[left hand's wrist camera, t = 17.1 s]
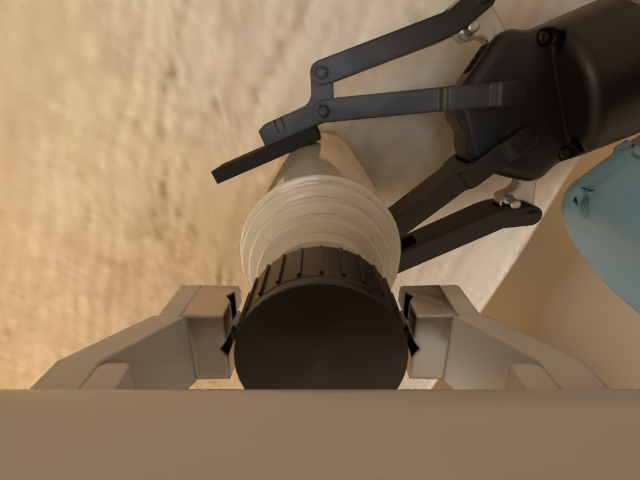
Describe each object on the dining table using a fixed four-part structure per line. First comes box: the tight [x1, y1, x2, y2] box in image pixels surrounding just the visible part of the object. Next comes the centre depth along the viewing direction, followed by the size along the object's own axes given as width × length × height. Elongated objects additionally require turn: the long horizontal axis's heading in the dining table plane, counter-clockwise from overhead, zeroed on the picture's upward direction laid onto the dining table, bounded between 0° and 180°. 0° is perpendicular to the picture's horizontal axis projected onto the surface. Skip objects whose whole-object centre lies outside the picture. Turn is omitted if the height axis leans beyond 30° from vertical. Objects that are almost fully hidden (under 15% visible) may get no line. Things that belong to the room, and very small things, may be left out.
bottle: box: [240, 132, 401, 291], centre depth 19 cm, size 6×6×22 cm
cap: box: [234, 245, 408, 389], centre depth 9 cm, size 4×4×2 cm
